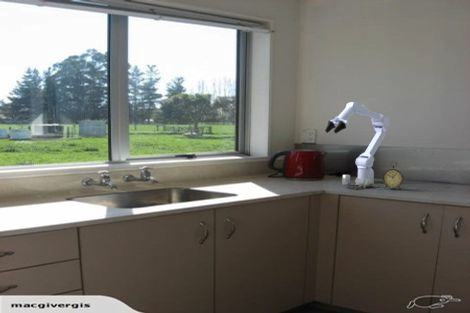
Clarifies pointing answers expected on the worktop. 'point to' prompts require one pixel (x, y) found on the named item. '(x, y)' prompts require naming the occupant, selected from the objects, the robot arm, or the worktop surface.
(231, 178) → the worktop surface
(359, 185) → the duct socket
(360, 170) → the robot arm
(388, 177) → the alarm clock
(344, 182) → the collar
